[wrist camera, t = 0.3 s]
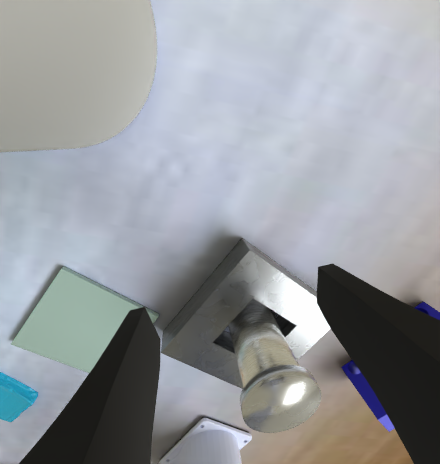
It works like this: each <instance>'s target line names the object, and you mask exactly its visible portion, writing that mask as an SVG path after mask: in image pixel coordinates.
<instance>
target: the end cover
mask: <svg viewBox="0 0 440 464" xmlns="http://www.w3.org/2000/svg"><path fill="white" fill-rule="evenodd" d="M228 326H229V330H230V334H231V338H232V342H233V346H234V351H235V355H236V359H237V363H238V367H239V371H240V375H241V379H242V383H243V387H244V388H243V390H242V392H241V395H240V406H241V410H242V415H243V419H244V421H245V423H246V424H247V425H248V426H249V427H250V428H252V429H253V430H256V431H259V432H264V433H275V432H282V431H285V430H289V429H291V428H294V427H296V426H298V425H300V424H302V423H303V422H305V421H306V420H307V419H308V418H310V417H311V416H312V415H313V414H314V412H315V411H316V410H317V408H318V406H319V404H320V402H321V390H320V388H319V386H318V384H317V382H316V381H315V379H314V377H313V375H312V374H311V373H310V372H309V371H308V370H307V369H305V368H303V367H300V366H299V364H298V362H297V360H296V358H295V356H294V354H293V352H292V351H291V349H290V347H289V345H288V343H287V341H286V339H285V337H284V335H283V333H282V331H281V329H280V327H279V326H278V324H277V322H276V320H275V318H274V316H273V314H272V312H271V310H270V308H268V307H266V306H265V305H263V304H262V303H260V302H258V301H257V300H255V299H254V298H253V299H252V300H251V301H250V302H249V303H248V304H247V305H246V306H245V308H244V309H243V310H242V311H241V312H240V313H239V314H238V315H237V316H236V317H235V318H234V320H233V321H232V322H231V323H230V324H229V325H228Z"/></svg>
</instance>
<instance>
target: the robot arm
mask: <svg viewBox="0 0 440 464" xmlns="http://www.w3.org/2000/svg"><path fill="white" fill-rule="evenodd" d="M317 304H318V306H319V308H320V310H321V312H322V314H323V316H324V318H325V319H326V321H327V323H328V325H329V326H330V328H331V329H332V331H333V332H334V334H335V335H336V337H337V338H338V340H339V341H340V343H341V344H342V346H343V347H344V348H345V350H346V351H347V353H348V354H349V356H350V357H351V359H352V360H353V361H354V363H355V364H356V366H357V367H358V369H359V370H360V372H361V373H362V374H363V376H364V377H365V379H366V380H367V382H368V383H369V385H370V387H371V388H372V390H373V391H374V393H375V395H376V396H377V398H378V400H379V402H380V403H381V405H382V407H383V408H384V410H385V412H386V414H387V415H388V417H389V419H390V421H391V422H392V424H393V426H394V428H395V430H396V431H397V433H398V435H399V437H400V439H401V440H402V442H403V444H404V446H405V448H406V450H407V451H408V453H409V455H410V457H411V459H412V461H413V463H414V464H440V320H438V319H436V318H434V317H432V316H430V315H427V314H425V313H423V312H421V311H419V310H417V309H415V308H413V307H411V306H409V305H407V304H405V303H403V302H401V301H399V300H397V299H395V298H393V297H392V296H390V295H388V294H386V293H384V292H382V291H380V290H379V289H377V288H375V287H373V286H371V285H370V284H368V283H366V282H364V281H363V280H361V279H359V278H357V277H355V276H354V275H352V274H350V273H348V272H347V271H345V270H343V269H341V268H340V267H338V266H336V265H334V264H329V265H325V266H320V267H318V283H317ZM159 371H160V338H159V336H158V334H157V331H156V329H155V327H154V325H153V323H152V321H151V319H150V316H149V314H148V312H147V310H146V308H145V307H142V308H137V309H133V310H130V311H129V312H128V314H127V315H126V317H125V319H124V320H123V322H122V323H121V325H120V327H119V328H118V330H117V331H116V333H115V335H114V336H113V338H112V339H111V341H110V343H109V344H108V346H107V347H106V349H105V350H104V352H103V354H102V355H101V357H100V358H99V360H98V361H97V363H96V364H95V366H94V367H93V369H92V370H91V372H90V373H89V375H88V376H87V377H86V379H85V380H84V382H83V383H82V385H81V386H80V387H79V389H78V390H77V392H76V393H75V395H74V396H73V397H72V399H71V400H70V401H69V403H68V404H67V405H66V407H65V408H64V409H63V411H62V412H61V413H60V415H59V416H58V417H57V419H56V420H55V421H54V422H53V424H52V425H51V426H50V427H49V429H48V430H47V431H46V432H45V434H44V435H43V436H42V437H41V439H40V440H39V441H38V442H37V443H36V445H35V446H34V447H33V448H32V449H31V450H30V452H29V453H28V454H27V455H26V456H25V457H24V459H23V460H22V461H21V462H20V463H19V464H150V458H151V441H152V430H153V422H154V413H155V405H156V397H157V388H158V380H159ZM251 439H252V436H251V434H250V433H247V432H244V431H241V430H239V429H236V428H233V427H230V426H227V425H225V424H222V423H219V422H216V421H214V420H211V419H208V418H202V419H201V420H200V421H199V422H198V423H197V424H196V425H195V426H194V427H193V428H192V429H191V430H190V431H189V432H188V433H187V434H186V435H185V436H184V437H183V438H182V439H181V440H180V441H179V442H178V443H177V444H176V445H175V446H174V447H173V448H172V449H171V450H170V451H169V452H168V453H167V454H166V455H165V456H164V457H163V458H162V459H161V460H160V462H159V464H242V462H241V456H240V451H239V450H240V449H242V448H243V447H244V446H245V445H246V444H247V443H248V442H249V441H250V440H251Z"/></svg>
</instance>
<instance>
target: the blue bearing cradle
mask: <svg viewBox="0 0 440 464" xmlns="http://www.w3.org/2000/svg"><path fill="white" fill-rule="evenodd" d="M415 309H417V310H419V311H421V312H423V313H425V314H427V315H430V316H432V317H434V318H436V319H438V320H440V312H438V311H437V310H435V309H434V308H432V307H431V306H429V305H428V304H426V303H425V302H422V303H420V304H419V305H418V306H416V307H415ZM341 368H342V369H343V371H344V372H345V373H346V375H347V376H348V378H349V379H350V381H351V382H352V383H353V385H354V386H355V388H356V389H357V391H358V392H359V393H360V395H361V396H362V398H363V399H364V401H365V402H366V403H367V405H368V406H369V408H370V409H371V411H372V412H373V413H374V415H375V416H376V418H377V419H378V420H379V421H380V422H381V424H382V425H383V426H384V427H385V428H386V429H387V430H388V431H391V430H393V429H394V426H393V424H392V422H391V421H390V419H389V417H388V415H387V414H386V412H385V410H384V408H383V407H382V405H381V403H380V402H379V400H378V398H377V396H376V395H375V393H374V391H373V390H372V388H371V387H370V385H369V383H368V382H367V380H366V379H365V377H364V376H363V374H362V373H361V372H360V370H359V369H358V367H357V366H356V364H355V363H354V361H353V360H351V361H350V362H348V363H347V364H345V365H344V366H342V367H341Z"/></svg>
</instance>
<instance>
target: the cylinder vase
mask: <svg viewBox="0 0 440 464" xmlns="http://www.w3.org/2000/svg"><path fill="white" fill-rule="evenodd" d="M156 62H157V36H156V27H155V21H154V15H153V11H152V6H151V2H150V0H0V152H17V151H37V150H57V149H76V148H84V147H89V146H93V145H96V144H99V143H102V142H104V141H106V140H108V139H110V138H112V137H114V136H115V135H117V134H118V133H120V132H121V131H122V130H124V129H125V128H126V127H127V126H128V125H129V124H130V123H131V122H132V121H133V120H134V119H135V118H136V116H137V115H138V114H139V112H140V111H141V109H142V107H143V106H144V104H145V102H146V100H147V98H148V95H149V93H150V90H151V87H152V84H153V80H154V75H155V70H156Z"/></svg>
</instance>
